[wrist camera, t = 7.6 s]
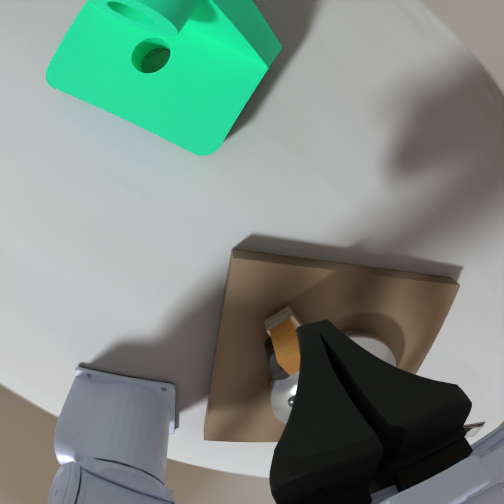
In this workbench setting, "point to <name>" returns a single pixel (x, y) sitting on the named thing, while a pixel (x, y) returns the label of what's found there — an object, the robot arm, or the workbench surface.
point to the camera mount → (175, 71)
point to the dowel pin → (274, 362)
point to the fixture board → (309, 311)
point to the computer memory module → (472, 429)
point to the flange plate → (289, 357)
